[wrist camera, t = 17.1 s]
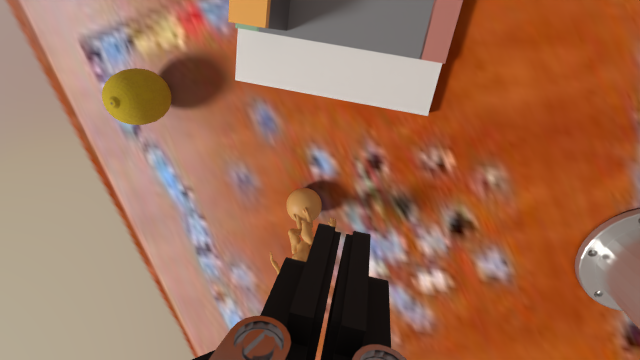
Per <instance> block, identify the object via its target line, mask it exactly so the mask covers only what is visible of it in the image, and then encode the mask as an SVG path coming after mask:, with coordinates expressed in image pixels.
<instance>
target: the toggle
mask: <svg viewBox="0 0 640 360" xmlns="http://www.w3.org/2000/svg"><path fill="white" fill-rule="evenodd" d="M289 7H290V0H229V20H228V22H233V23H239V24H245V25H250V26H256V27H262V28H269V29H276V30H284V31H287V26H288V16H289Z"/></svg>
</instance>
